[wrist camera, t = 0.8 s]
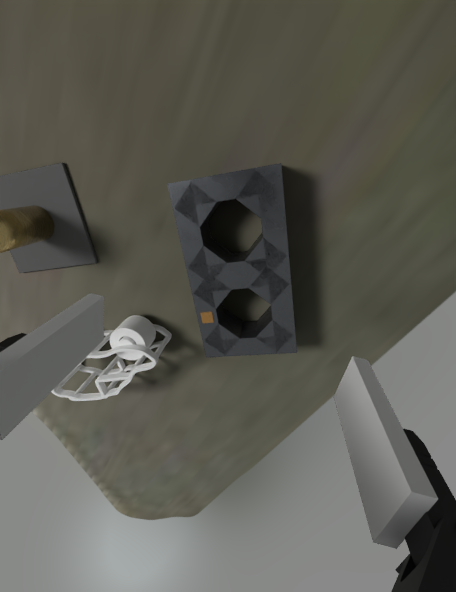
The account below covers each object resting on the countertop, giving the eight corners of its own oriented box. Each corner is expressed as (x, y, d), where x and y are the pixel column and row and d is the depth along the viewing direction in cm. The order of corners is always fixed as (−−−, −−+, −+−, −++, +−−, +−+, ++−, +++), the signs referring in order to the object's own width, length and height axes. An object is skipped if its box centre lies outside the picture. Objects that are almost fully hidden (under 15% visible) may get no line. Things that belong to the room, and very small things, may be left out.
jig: (180, 182, 37) (166, 183, 33) (280, 164, 35) (281, 163, 30) (212, 339, 46) (206, 358, 41) (294, 333, 44) (297, 353, 39)
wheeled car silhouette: (162, 306, 45) (143, 329, 39) (182, 363, 49) (168, 393, 42) (58, 324, 50) (25, 347, 43) (84, 374, 54) (57, 403, 47)
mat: (-20, 180, 41) (-23, 180, 41) (64, 163, 38) (61, 162, 38) (22, 271, 46) (19, 272, 46) (98, 262, 44) (96, 262, 43)
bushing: (17, 208, 41) (-65, 219, 31) (46, 202, 40) (-29, 212, 30) (31, 241, 43) (-42, 262, 33) (59, 237, 42) (-7, 257, 32)
